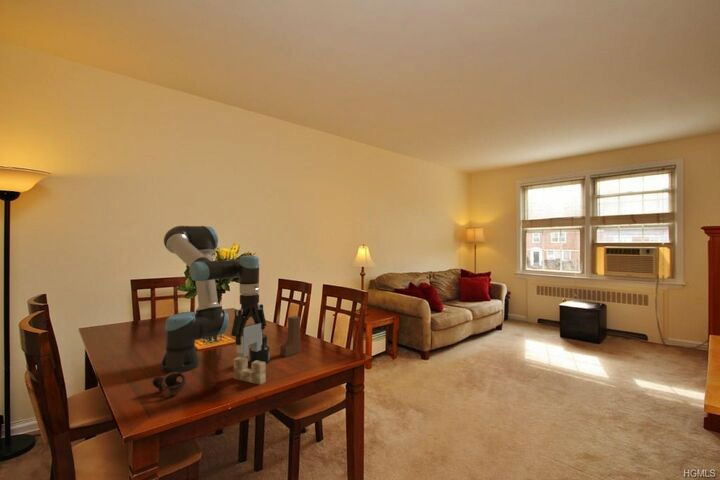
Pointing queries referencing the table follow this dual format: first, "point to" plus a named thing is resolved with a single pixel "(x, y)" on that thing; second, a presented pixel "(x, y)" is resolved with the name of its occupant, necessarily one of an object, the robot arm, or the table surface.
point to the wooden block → (292, 337)
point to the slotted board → (250, 371)
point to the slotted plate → (251, 339)
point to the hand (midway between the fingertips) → (249, 348)
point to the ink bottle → (260, 352)
